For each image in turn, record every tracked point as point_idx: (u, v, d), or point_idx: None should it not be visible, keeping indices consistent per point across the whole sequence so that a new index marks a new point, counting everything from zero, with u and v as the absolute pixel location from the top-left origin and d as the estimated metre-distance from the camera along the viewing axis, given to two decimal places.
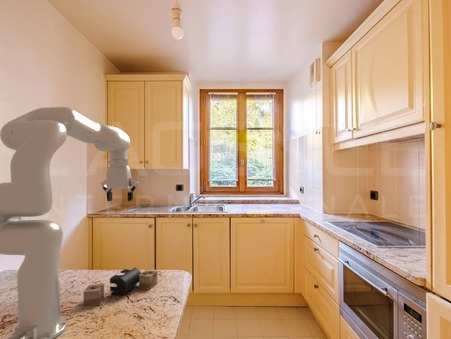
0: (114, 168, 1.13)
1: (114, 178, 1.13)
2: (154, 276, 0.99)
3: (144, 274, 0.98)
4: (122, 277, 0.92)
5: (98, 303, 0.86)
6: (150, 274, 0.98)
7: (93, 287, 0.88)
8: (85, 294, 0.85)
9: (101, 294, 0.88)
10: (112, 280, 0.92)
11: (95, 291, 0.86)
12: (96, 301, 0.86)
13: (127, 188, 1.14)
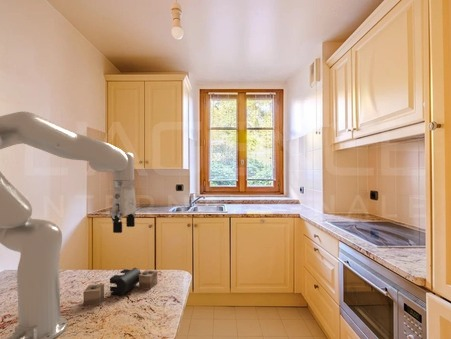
0: (129, 190, 0.96)
1: (129, 202, 0.96)
2: (154, 276, 0.99)
3: (144, 274, 0.98)
4: (122, 277, 0.92)
5: (98, 303, 0.86)
6: (150, 274, 0.98)
7: (93, 287, 0.88)
8: (85, 294, 0.85)
9: (101, 294, 0.88)
10: (112, 280, 0.92)
11: (95, 291, 0.86)
12: (96, 301, 0.86)
13: (133, 212, 1.02)
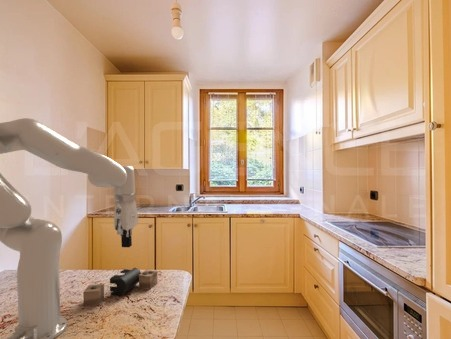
0: (130, 204, 0.95)
1: (131, 216, 0.95)
2: (154, 276, 0.99)
3: (144, 274, 0.98)
4: (122, 277, 0.92)
5: (98, 303, 0.86)
6: (150, 274, 0.98)
7: (93, 287, 0.88)
8: (85, 294, 0.85)
9: (101, 294, 0.88)
10: (112, 280, 0.92)
11: (95, 291, 0.86)
12: (96, 301, 0.86)
13: (131, 229, 0.97)
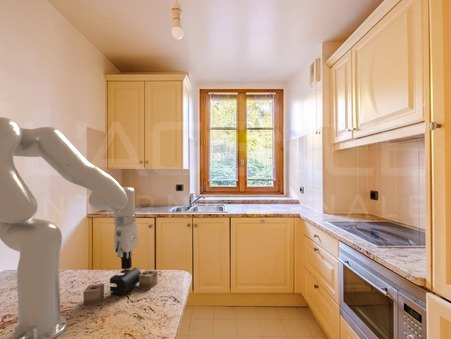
0: (131, 226, 0.95)
1: (131, 238, 0.95)
2: (154, 276, 0.99)
3: (144, 274, 0.98)
4: (122, 277, 0.92)
5: (98, 303, 0.86)
6: (150, 274, 0.98)
7: (93, 287, 0.88)
8: (85, 294, 0.85)
9: (101, 294, 0.88)
10: (112, 280, 0.92)
11: (95, 291, 0.86)
12: (96, 301, 0.86)
13: (131, 250, 0.97)
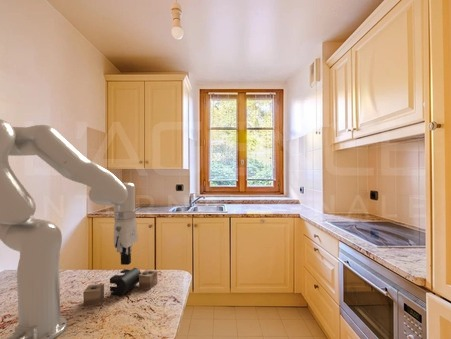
0: (130, 221, 0.95)
1: (131, 233, 0.95)
2: (154, 276, 0.99)
3: (144, 274, 0.98)
4: (122, 277, 0.92)
5: (98, 303, 0.86)
6: (150, 274, 0.98)
7: (93, 287, 0.88)
8: (85, 294, 0.85)
9: (101, 294, 0.88)
10: (112, 280, 0.92)
11: (95, 291, 0.86)
12: (96, 301, 0.86)
13: (130, 246, 0.97)
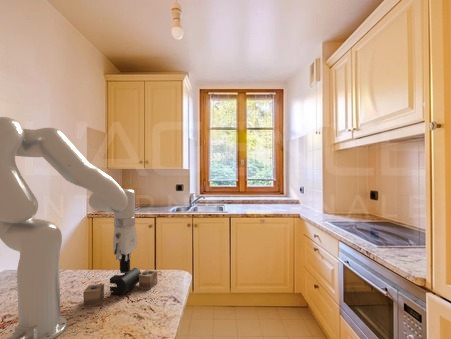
0: (130, 228, 0.95)
1: (130, 240, 0.95)
2: (154, 276, 0.99)
3: (144, 274, 0.98)
4: (122, 277, 0.92)
5: (98, 303, 0.86)
6: (150, 274, 0.98)
7: (93, 287, 0.88)
8: (85, 294, 0.85)
9: (101, 294, 0.88)
10: (112, 280, 0.92)
11: (95, 291, 0.86)
12: (96, 301, 0.86)
13: (129, 253, 0.97)
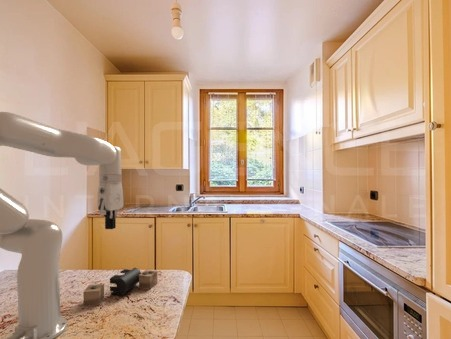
0: (115, 185, 0.94)
1: (115, 197, 0.94)
2: (154, 276, 0.99)
3: (144, 274, 0.98)
4: (122, 277, 0.92)
5: (98, 303, 0.86)
6: (150, 274, 0.98)
7: (93, 287, 0.88)
8: (85, 294, 0.85)
9: (101, 294, 0.88)
10: (112, 280, 0.92)
11: (95, 291, 0.86)
12: (96, 301, 0.86)
13: (115, 211, 0.96)
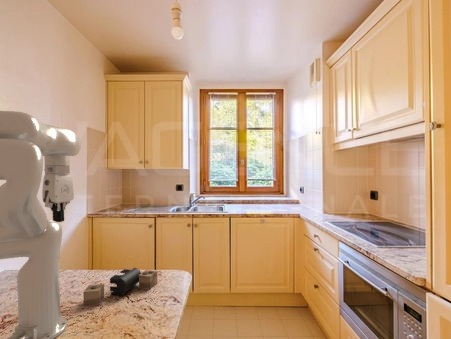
0: (63, 177, 0.91)
1: (63, 189, 0.91)
2: (154, 276, 0.99)
3: (144, 274, 0.98)
4: (122, 277, 0.92)
5: (98, 303, 0.86)
6: (150, 274, 0.98)
7: (93, 287, 0.88)
8: (85, 294, 0.85)
9: (101, 294, 0.88)
10: (112, 280, 0.92)
11: (95, 291, 0.86)
12: (96, 301, 0.86)
13: (64, 203, 0.93)
